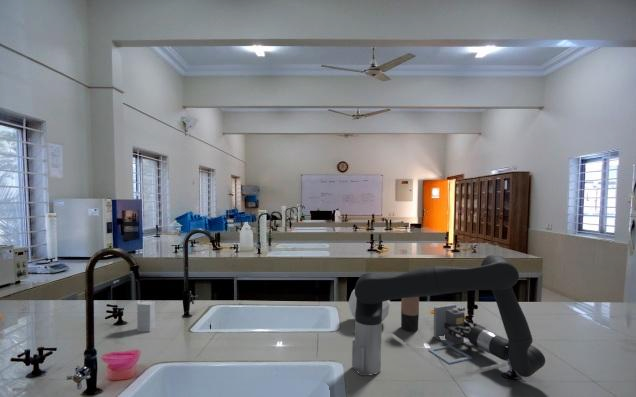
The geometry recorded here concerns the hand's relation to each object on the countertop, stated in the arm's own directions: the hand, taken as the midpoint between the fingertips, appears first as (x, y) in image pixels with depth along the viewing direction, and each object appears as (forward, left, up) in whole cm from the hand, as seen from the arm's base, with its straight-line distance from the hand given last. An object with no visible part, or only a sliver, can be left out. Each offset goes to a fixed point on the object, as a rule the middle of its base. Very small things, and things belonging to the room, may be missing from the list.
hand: (453, 323), depth 141 cm
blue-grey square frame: (-11, -10, -8) cm, 17 cm away
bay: (0, 0, -8) cm, 8 cm away
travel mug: (-10, +15, -8) cm, 20 cm away
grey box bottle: (0, -1, -7) cm, 7 cm away
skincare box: (-119, +58, -8) cm, 132 cm away
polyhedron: (-22, +30, -8) cm, 38 cm away
